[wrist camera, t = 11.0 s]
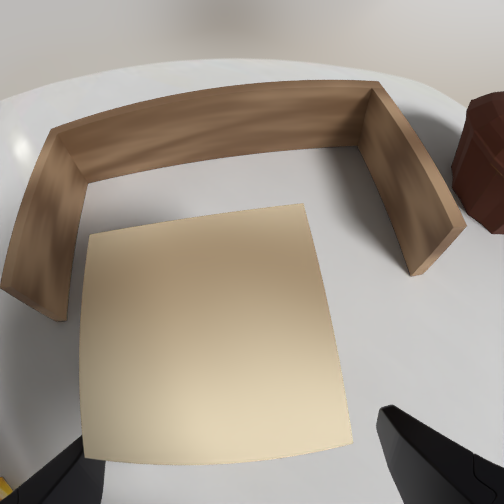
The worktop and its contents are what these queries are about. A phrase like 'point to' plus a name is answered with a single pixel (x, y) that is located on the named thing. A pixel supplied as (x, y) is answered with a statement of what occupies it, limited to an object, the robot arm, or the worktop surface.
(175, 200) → the worktop surface
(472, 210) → the muffin
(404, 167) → the u-shaped wooden wall
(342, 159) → the worktop surface
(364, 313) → the worktop surface
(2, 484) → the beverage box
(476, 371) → the worktop surface
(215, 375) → the ash block
